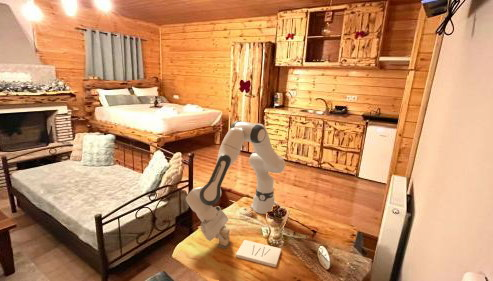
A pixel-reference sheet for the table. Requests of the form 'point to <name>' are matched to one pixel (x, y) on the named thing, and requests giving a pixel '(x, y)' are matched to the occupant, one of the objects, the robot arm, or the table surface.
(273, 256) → the board
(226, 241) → the block
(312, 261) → the table surface
